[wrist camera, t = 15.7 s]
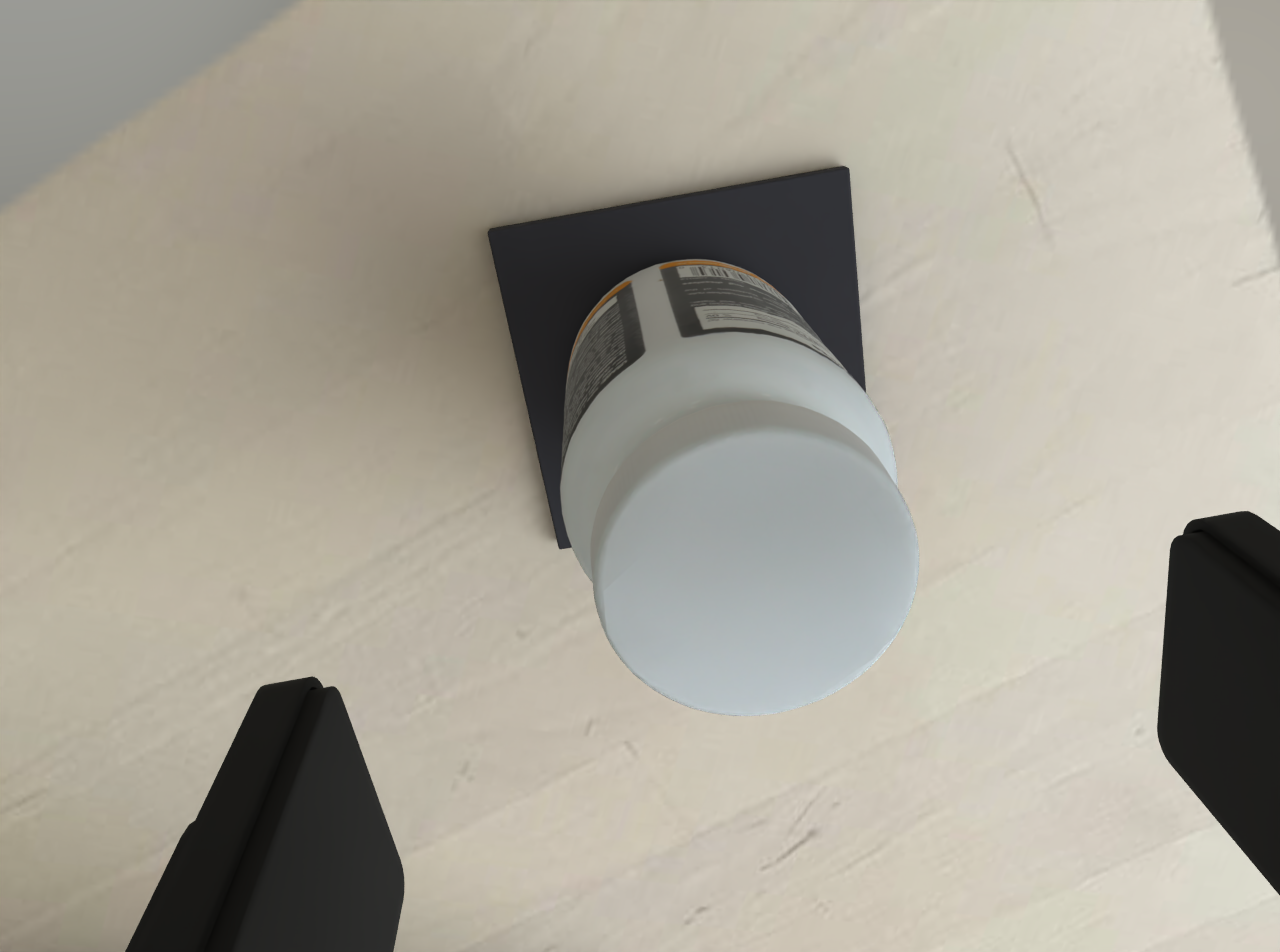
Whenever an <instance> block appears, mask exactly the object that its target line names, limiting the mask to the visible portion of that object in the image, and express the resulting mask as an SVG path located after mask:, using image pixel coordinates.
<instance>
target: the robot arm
mask: <svg viewBox="0 0 1280 952" xmlns="http://www.w3.org/2000/svg"><path fill="white" fill-rule="evenodd" d="M1157 732H1158V738H1159V743H1160V745H1161V748H1162V751H1163V753H1164V755H1165V757H1166V759H1167V760H1168V761H1169V763H1170V764H1171V765H1172V767H1173V768H1174V769H1175V770H1176V771H1177V773H1178V774H1179V775H1180V776H1181V777H1182V779H1183V780H1184V781H1185V782H1186V783H1187V785H1188V786H1189V787H1190V788H1191V789H1192V791H1193V792H1194V793H1195V794H1196V795H1197V797H1198V798H1199V799H1200V800H1201V801H1202V803H1203V804H1204V805H1205V806H1206V807H1207V809H1208V810H1209V811H1210V812H1211V813H1212V815H1213V816H1214V817H1215V818H1216V819H1217V821H1218V822H1219V823H1220V824H1221V825H1222V827H1223V828H1224V829H1225V830H1226V831H1227V833H1228V834H1229V835H1230V836H1231V837H1232V839H1233V840H1234V841H1235V842H1236V843H1237V845H1238V846H1239V847H1240V848H1241V849H1242V851H1243V852H1244V853H1245V854H1246V855H1247V857H1248V858H1249V859H1250V860H1251V861H1252V863H1253V864H1254V865H1255V866H1256V867H1257V869H1258V870H1259V871H1260V872H1261V873H1262V875H1263V876H1264V877H1265V878H1266V879H1267V881H1268V882H1269V883H1270V884H1271V885H1272V887H1273V888H1274V889H1275V890H1276V891H1277V893H1278V894H1279V895H1280V531H1279V530H1278V529H1276V528H1275V527H1273V526H1272V525H1270V524H1269V523H1267V522H1266V521H1264V520H1263V519H1262V518H1260V517H1259V516H1257V515H1255V514H1253V513H1251V512H1249V511H1240V512H1235V513H1229V514H1223V515H1218V516H1212V517H1207V518H1201V519H1195V520H1192V521H1191V522H1189V523H1188V524H1187V526H1186V528H1185V529H1184V533H1183V535H1180V536H1177V537H1176V538H1174V540H1173V542H1172V543H1171V548H1170V558H1169V572H1168V586H1167V599H1166V613H1165V627H1164V641H1163V655H1162V669H1161V682H1160V696H1159V710H1158V724H1157ZM403 898H404V874H403V868H402V864H401V860H400V857H399V855H398V852H397V849H396V846H395V844H394V841H393V838H392V835H391V832H390V830H389V827H388V824H387V821H386V819H385V816H384V813H383V810H382V807H381V805H380V802H379V799H378V796H377V794H376V791H375V788H374V785H373V783H372V780H371V777H370V774H369V771H368V769H367V766H366V763H365V760H364V758H363V755H362V752H361V749H360V747H359V744H358V741H357V738H356V735H355V733H354V730H353V727H352V724H351V722H350V719H349V716H348V713H347V710H346V708H345V705H344V702H343V699H342V697H341V695H340V692H339V691H338V690H337V688H336V687H333V686H331V687H326V688H323V686H322V684H321V683H320V681H319V680H318V679H317V678H315V677H307V678H302V679H296V680H290V681H285V682H279V683H274V684H268V685H264V686H262V687H260V689H259V690H258V691H257V693H256V695H255V697H254V699H253V701H252V703H251V705H250V707H249V709H248V711H247V714H246V716H245V718H244V720H243V722H242V724H241V726H240V728H239V730H238V732H237V734H236V737H235V739H234V741H233V743H232V745H231V747H230V749H229V751H228V753H227V755H226V757H225V760H224V762H223V764H222V766H221V768H220V770H219V772H218V774H217V776H216V778H215V780H214V783H213V785H212V787H211V789H210V791H209V793H208V795H207V797H206V799H205V801H204V803H203V806H202V808H201V810H200V812H199V814H198V816H197V818H196V820H195V821H194V822H192V823H191V824H189V826H188V827H187V829H186V830H185V832H184V833H183V835H182V836H181V838H180V840H179V842H178V844H177V846H176V849H175V851H174V853H173V855H172V857H171V859H170V861H169V863H168V865H167V867H166V869H165V871H164V873H163V875H162V877H161V879H160V881H159V883H158V886H157V888H156V890H155V892H154V894H153V896H152V898H151V900H150V902H149V904H148V906H147V908H146V910H145V912H144V914H143V916H142V918H141V920H140V923H139V925H138V927H137V929H136V931H135V933H134V935H133V937H132V939H131V941H130V943H129V945H128V947H127V949H126V951H125V952H393V950H394V945H395V940H396V935H397V930H398V924H399V919H400V914H401V909H402V904H403Z"/></svg>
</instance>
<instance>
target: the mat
mask: <svg viewBox="0 0 1280 952" xmlns="http://www.w3.org/2000/svg"><path fill="white" fill-rule="evenodd" d="M488 237H489V241H490V246H491V250H492V255H493V259H494V263H495V268H496V272H497V277H498V281H499V286H500V290H501V294H502V299H503V303H504V308H505V312H506V317H507V321H508V325H509V330H510V334H511V339H512V343H513V348H514V352H515V356H516V361H517V365H518V370H519V374H520V379H521V383H522V387H523V392H524V396H525V401H526V405H527V409H528V414H529V418H530V423H531V427H532V432H533V436H534V440H535V445H536V449H537V454H538V458H539V463H540V467H541V471H542V476H543V480H544V485H545V489H546V494H547V498H548V502H549V507H550V511H551V516H552V520H553V524H554V529H555V533H556V538H557V542H558V547H559V549H565V548H571V547H572V546H571V543H570V541H569V538H568V535H567V532H566V528H565V524H564V519H563V515H562V507H561V498H560V479H561V462H562V442H563V427H564V405H565V394H566V383H567V373H568V368H569V362H570V357H571V353H572V349H573V346H574V343H575V340H576V337H577V335H578V332H579V330H580V328H581V326H582V324H583V322H584V321H585V319H586V318H587V316H588V315H589V314H590V312H591V311H592V310H593V308H594V307H595V306H596V305H597V304H598V302H599V301H600V300H601V299H602V297H603V296H604V295H606V294H607V293H608V292H609V291H610V290H611V289H613V288H614V287H615V286H616V285H617V284H619V283H620V282H622V281H623V280H625V279H626V278H628V277H630V276H631V275H633V274H635V273H637V272H639V271H641V270H644V269H646V268H649V267H651V266H654V265H656V264H661V263H666V262H671V261H676V260H687V259H706V260H714V261H719V262H723V263H727V264H731V265H734V266H737V267H740V268H742V269H745V270H747V271H749V272H751V273H753V274H755V275H757V276H758V277H760V278H761V279H763V280H765V281H766V282H767V283H769V284H770V285H771V286H773V287H774V288H775V289H776V290H777V291H778V292H779V293H780V294H782V295H783V296H784V297H785V298H786V299H787V300H788V301H789V302H790V303H791V304H792V305H793V307H794V308H795V309H796V310H797V311H798V313H799V314H800V315H801V316H802V318H803V319H804V320H805V321H806V322H807V323H808V325H809V326H810V327H811V328H812V330H813V331H814V332H815V333H816V334H817V336H818V337H819V338H820V340H821V341H822V343H823V344H824V345H825V346H826V347H827V348H828V349H829V350H830V352H831V353H832V354H833V355H834V356H835V358H836V359H837V360H838V361H839V362H840V363H841V364H842V366H843V367H844V368H845V369H846V371H847V372H848V373H849V374H850V375H851V376H852V377H853V378H854V379H855V380H856V381H857V382H858V384H859V385H860V386H861V387H862V389H863V390H864V391H865V392H866V387H865V373H864V360H863V346H862V333H861V320H860V306H859V293H858V280H857V266H856V253H855V239H854V226H853V213H852V199H851V186H850V173H849V168H847V167H845V166H841V167H835V168H830V169H824V170H818V171H813V172H807V173H802V174H796V175H790V176H785V177H779V178H773V179H768V180H762V181H756V182H751V183H745V184H740V185H734V186H728V187H723V188H717V189H711V190H706V191H700V192H694V193H689V194H683V195H678V196H672V197H666V198H661V199H655V200H649V201H644V202H638V203H632V204H627V205H621V206H616V207H610V208H604V209H599V210H593V211H587V212H582V213H576V214H570V215H565V216H559V217H554V218H548V219H542V220H537V221H531V222H525V223H520V224H514V225H508V226H503V227H497V228H492V229H489V231H488Z"/></svg>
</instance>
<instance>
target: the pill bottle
mask: <svg viewBox="0 0 1280 952" xmlns="http://www.w3.org/2000/svg"><path fill="white" fill-rule="evenodd" d="M560 498H561V507H562V515H563V519H564V524H565V528H566V532H567V535H568V538H569V541H570V543H571V546H572V548H573V551H574V553H575V555H576V557H577V559H578V561H579V563H580V565H581V566H582V568H583V570H584V572H585V573H586V575H587V576H588V577H589V579H590V580H591V581H592V583H593V590H594V599H595V603H596V608H597V612H598V615H599V618H600V621H601V624H602V627H603V629H604V632H605V634H606V636H607V638H608V640H609V642H610V644H611V646H612V647H613V649H614V651H615V652H616V654H617V655H618V656H619V658H620V659H621V660H622V662H623V663H624V664H625V665H626V666H627V667H628V668H629V669H630V671H631V672H632V673H633V674H634V675H635V676H637V677H638V678H639V679H640V680H642V681H643V682H644V683H645V684H647V685H648V686H649V687H651V688H652V689H653V690H655V691H657V692H658V693H660V694H662V695H664V696H665V697H667V698H669V699H671V700H673V701H676V702H678V703H680V704H682V705H685V706H687V707H690V708H693V709H697V710H700V711H705V712H710V713H716V714H723V715H732V716H758V715H768V714H775V713H780V712H784V711H788V710H792V709H796V708H799V707H802V706H805V705H808V704H811V703H813V702H816V701H819V700H821V699H823V698H825V697H827V696H829V695H831V694H833V693H835V692H836V691H838V690H840V689H841V688H843V687H845V686H846V685H848V684H849V683H851V682H852V681H853V680H855V679H856V678H857V677H859V676H860V675H862V674H863V673H864V672H865V671H866V670H868V669H869V668H870V667H871V666H872V665H873V664H874V663H875V662H876V661H877V660H878V659H879V657H880V656H881V655H882V654H883V653H884V652H885V651H886V649H887V648H888V647H889V645H890V644H891V643H892V641H893V640H894V638H895V637H896V635H897V634H898V632H899V630H900V629H901V627H902V625H903V623H904V621H905V619H906V617H907V615H908V612H909V610H910V608H911V605H912V602H913V599H914V595H915V591H916V587H917V580H918V573H919V548H918V540H917V534H916V529H915V526H914V523H913V520H912V517H911V514H910V511H909V509H908V506H907V504H906V502H905V500H904V498H903V496H902V495H901V493H900V491H899V489H898V488H897V469H896V462H895V456H894V451H893V448H892V444H891V440H890V436H889V433H888V430H887V428H886V425H885V423H884V421H883V420H882V418H881V416H880V415H879V413H878V411H877V409H876V408H875V406H874V405H873V403H872V401H871V400H870V398H869V396H868V395H867V394H866V392H865V391H864V390H863V389H862V387H861V386H860V385H859V384H858V382H857V381H856V380H855V379H854V378H853V377H852V376H851V375H850V374H849V373H848V372H847V371H846V369H845V368H844V367H843V366H842V364H841V363H840V362H839V361H838V360H837V359H836V358H835V356H834V355H833V354H832V353H831V352H830V350H829V349H828V348H827V347H826V346H825V345H824V344H823V343H822V341H821V340H820V338H819V337H818V336H817V334H816V333H815V332H814V331H813V330H812V328H811V327H810V326H809V325H808V323H807V322H806V321H805V320H804V319H803V318H802V316H801V315H800V314H799V313H798V311H797V310H796V309H795V308H794V307H793V305H792V304H791V303H790V302H789V301H788V300H787V299H786V298H785V297H784V296H783V295H782V294H780V293H779V292H778V291H777V290H776V289H775V288H774V287H773V286H771V285H770V284H769V283H767V282H766V281H765V280H763V279H761V278H760V277H758V276H757V275H755V274H753V273H751V272H749V271H747V270H745V269H742V268H740V267H737V266H734V265H731V264H727V263H723V262H719V261H714V260H706V259H687V260H676V261H671V262H666V263H661V264H656V265H654V266H651V267H649V268H646V269H644V270H641V271H639V272H637V273H635V274H633V275H631V276H630V277H628V278H626V279H625V280H623V281H622V282H620V283H619V284H617V285H616V286H615V287H614V288H613V289H611V290H610V291H609V292H608V293H607V294H606V295H604V296H603V297H602V299H601V300H600V301H599V302H598V304H597V305H596V306H595V307H594V308H593V310H592V311H591V312H590V314H589V315H588V316H587V318H586V319H585V321H584V322H583V324H582V326H581V328H580V330H579V332H578V335H577V337H576V340H575V343H574V346H573V349H572V353H571V357H570V362H569V368H568V373H567V383H566V394H565V405H564V427H563V442H562V462H561V479H560Z"/></svg>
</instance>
